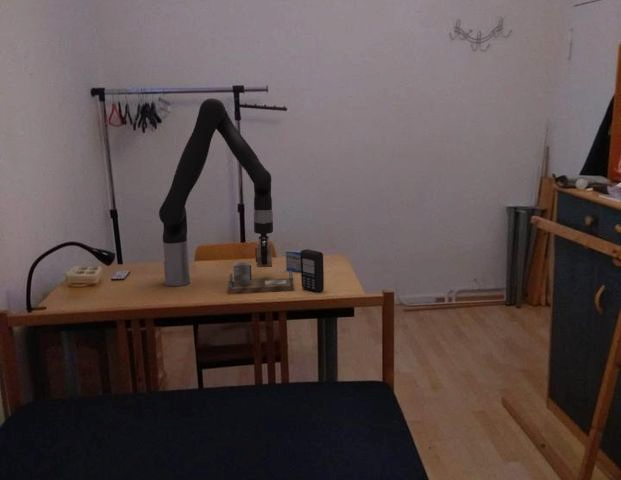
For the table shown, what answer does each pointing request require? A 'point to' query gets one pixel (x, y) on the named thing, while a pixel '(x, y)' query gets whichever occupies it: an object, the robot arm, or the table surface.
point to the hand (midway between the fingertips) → (264, 262)
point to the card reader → (312, 270)
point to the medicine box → (293, 260)
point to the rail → (255, 281)
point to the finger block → (258, 256)
